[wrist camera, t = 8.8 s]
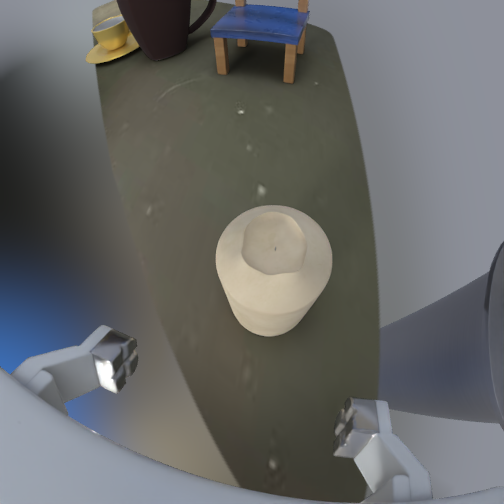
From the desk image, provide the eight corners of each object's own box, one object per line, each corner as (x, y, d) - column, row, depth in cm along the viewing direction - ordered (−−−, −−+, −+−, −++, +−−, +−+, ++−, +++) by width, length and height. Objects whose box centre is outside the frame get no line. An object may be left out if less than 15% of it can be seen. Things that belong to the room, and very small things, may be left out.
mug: (129, 52, 37) (111, -7, 26) (206, 25, 40) (199, -33, 29) (142, 74, 34) (121, 3, 23) (232, 43, 36) (227, -26, 25)
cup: (78, 73, 36) (67, 49, 31) (95, 43, 40) (87, 22, 35) (146, 52, 36) (138, 24, 31) (154, 25, 41) (148, 2, 36)
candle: (320, 313, 21) (364, 266, 12) (253, 350, 20) (248, 331, 11) (283, 252, 23) (297, 172, 14) (218, 285, 22) (191, 219, 13)
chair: (294, 84, 32) (303, -27, 18) (215, 75, 33) (203, -30, 19) (305, 50, 36) (313, -39, 22) (238, 42, 37) (234, -44, 23)
